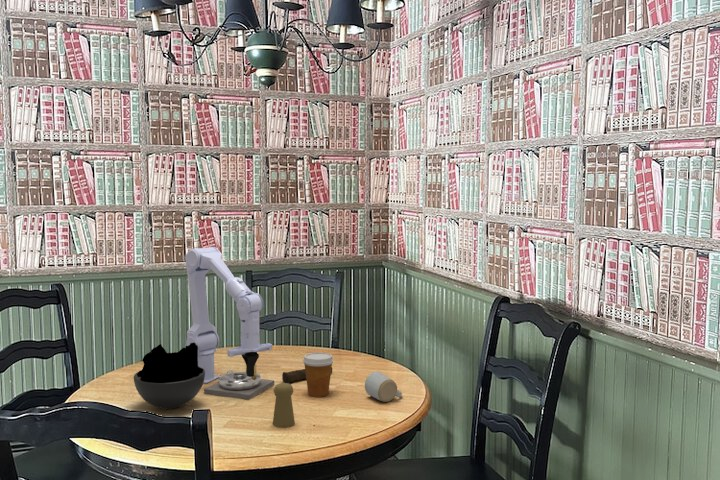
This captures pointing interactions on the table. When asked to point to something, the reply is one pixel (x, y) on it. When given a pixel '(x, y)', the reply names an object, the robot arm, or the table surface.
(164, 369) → the coal bowl
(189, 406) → the table surface
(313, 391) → the disposable coffee cup
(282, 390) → the olive pawn figure
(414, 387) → the table surface
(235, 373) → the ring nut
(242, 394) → the base plate
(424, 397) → the table surface
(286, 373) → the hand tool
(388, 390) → the ceramic mug
